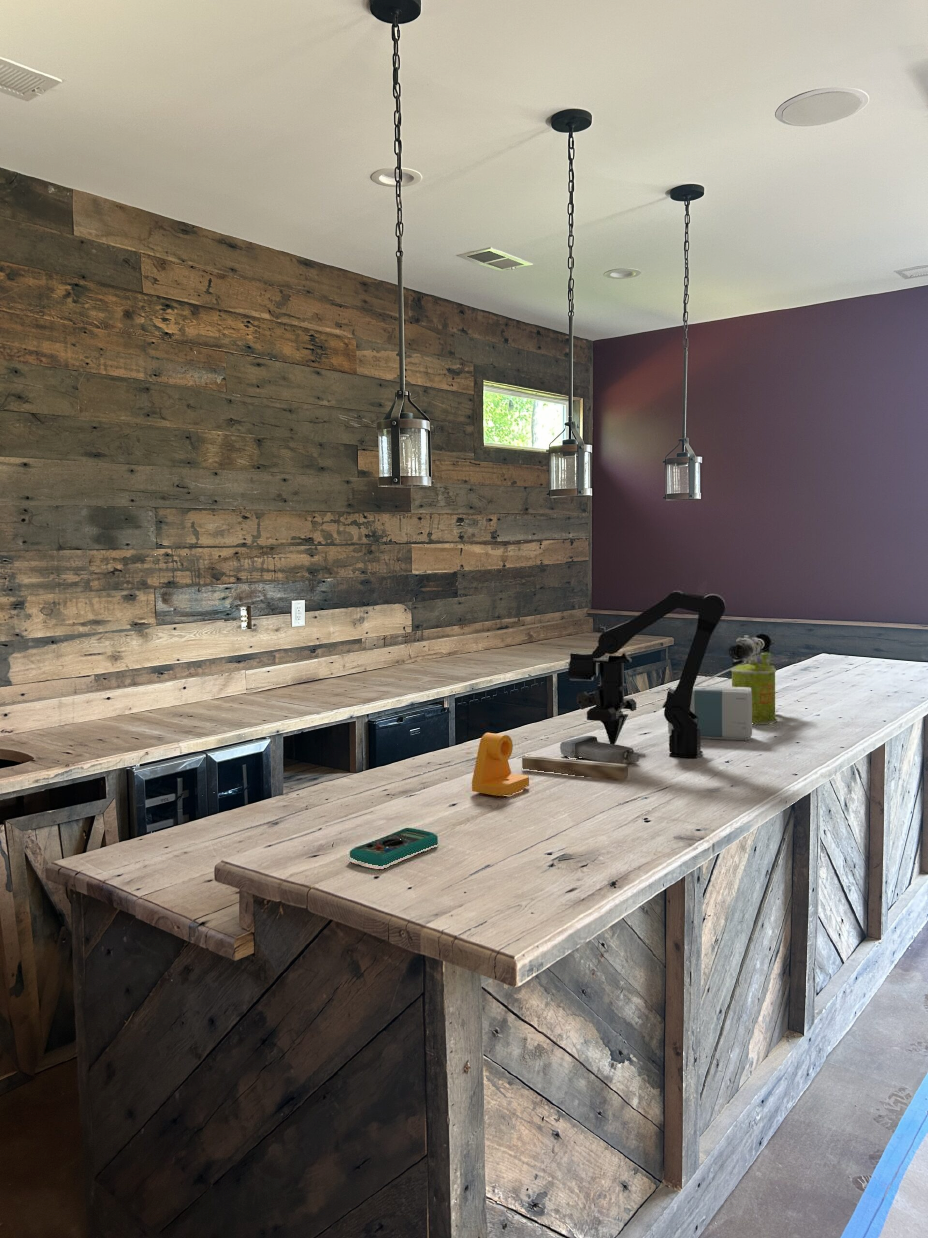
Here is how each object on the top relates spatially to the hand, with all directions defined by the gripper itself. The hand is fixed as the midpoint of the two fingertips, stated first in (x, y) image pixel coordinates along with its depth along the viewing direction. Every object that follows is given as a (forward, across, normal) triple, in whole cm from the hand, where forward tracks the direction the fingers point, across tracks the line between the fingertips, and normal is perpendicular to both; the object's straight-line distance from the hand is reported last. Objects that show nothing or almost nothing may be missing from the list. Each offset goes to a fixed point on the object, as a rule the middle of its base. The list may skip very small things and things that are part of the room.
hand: (612, 744), depth 222 cm
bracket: (+2, +44, -8) cm, 45 cm away
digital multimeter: (+3, +87, -5) cm, 87 cm away
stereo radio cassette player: (+2, -27, +17) cm, 32 cm away
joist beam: (+2, +25, 0) cm, 25 cm away
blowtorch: (+2, -55, +22) cm, 59 cm away
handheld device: (+3, +8, 0) cm, 8 cm away
